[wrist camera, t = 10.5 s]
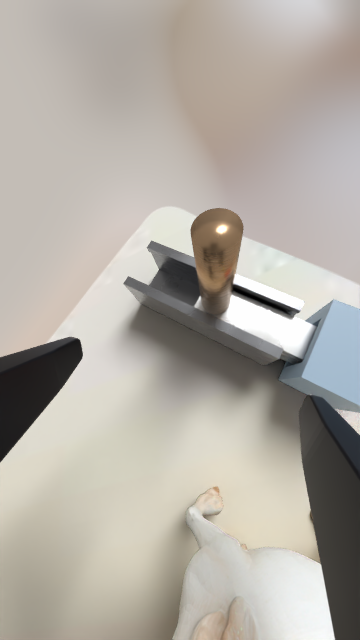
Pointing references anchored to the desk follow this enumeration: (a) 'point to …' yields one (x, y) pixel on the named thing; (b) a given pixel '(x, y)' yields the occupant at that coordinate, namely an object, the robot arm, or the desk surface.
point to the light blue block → (331, 358)
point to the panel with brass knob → (221, 302)
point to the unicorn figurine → (248, 587)
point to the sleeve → (178, 304)
